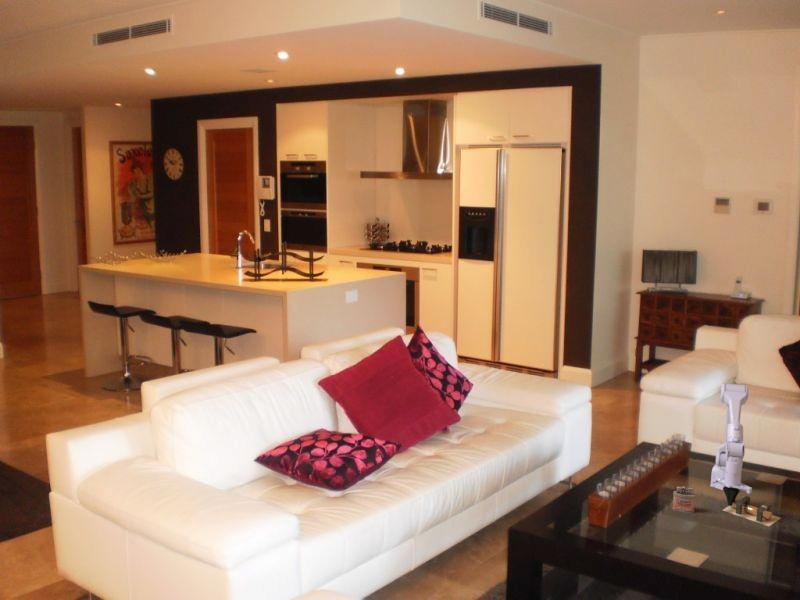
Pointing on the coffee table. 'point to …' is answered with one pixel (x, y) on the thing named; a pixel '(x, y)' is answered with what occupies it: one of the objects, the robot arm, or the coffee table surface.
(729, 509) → the board
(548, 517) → the coffee table surface
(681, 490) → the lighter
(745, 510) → the tube
